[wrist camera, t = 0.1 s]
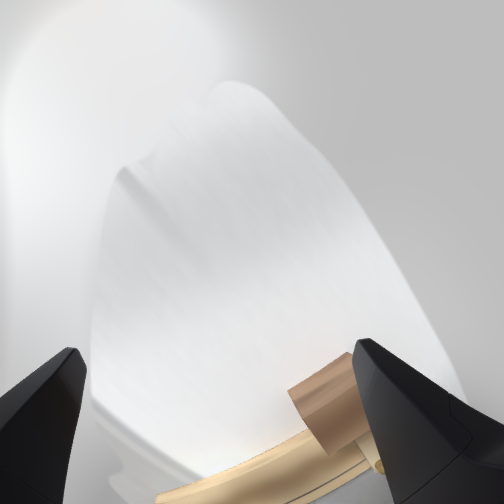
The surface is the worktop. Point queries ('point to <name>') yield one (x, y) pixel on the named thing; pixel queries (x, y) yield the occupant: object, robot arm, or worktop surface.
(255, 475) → the board
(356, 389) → the brown block with rod
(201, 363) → the worktop surface
